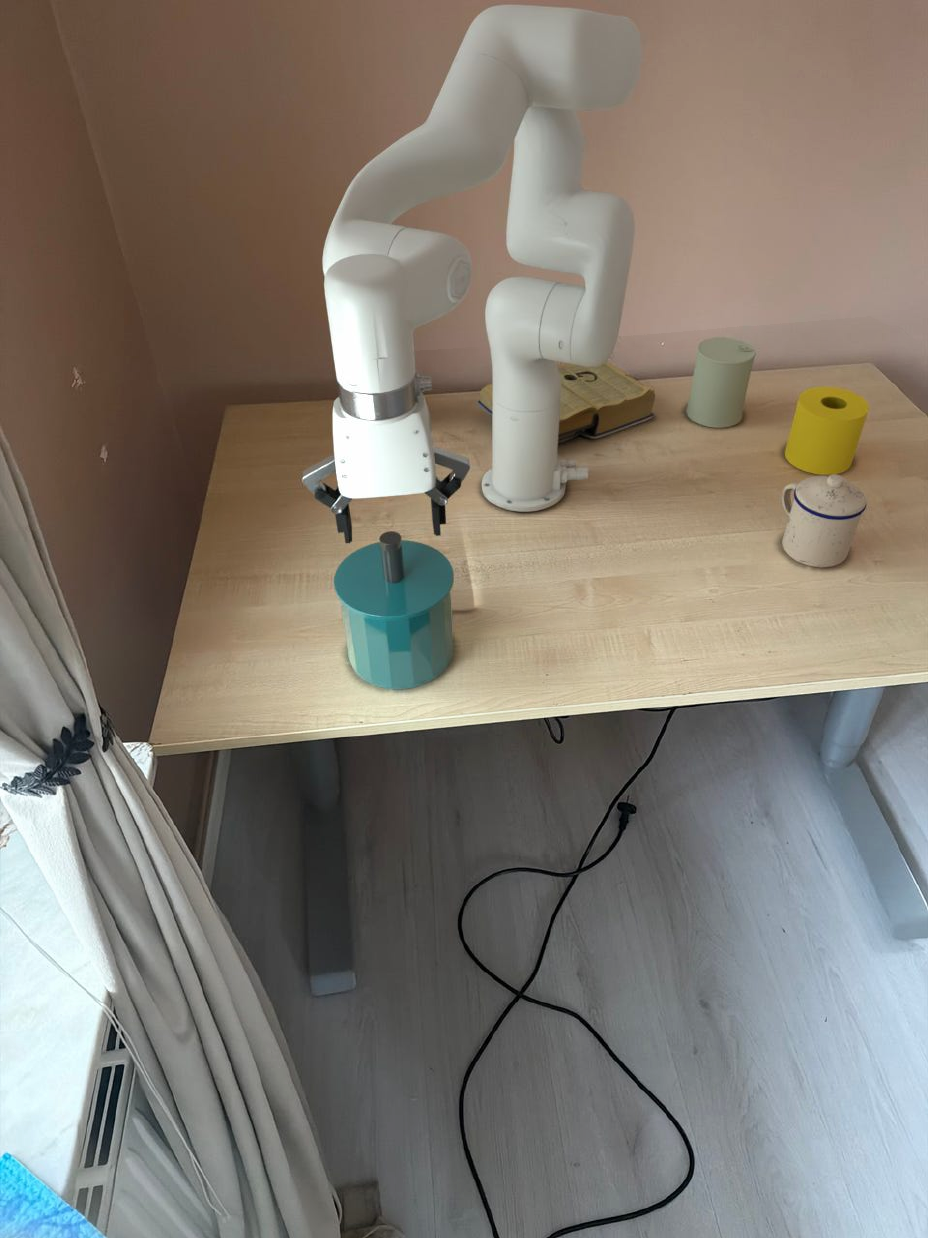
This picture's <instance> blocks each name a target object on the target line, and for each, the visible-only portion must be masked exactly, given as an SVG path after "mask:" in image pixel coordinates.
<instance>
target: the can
mask: <svg viewBox="0 0 928 1238" xmlns="http://www.w3.org/2000/svg"><path fill="white" fill-rule="evenodd" d="M755 357H756V349H755V347H754V346H753V345H751V344H750V343H748V342H747V341H745V340H742V339H739V338H735V337H729V336H719V337H717V336H715V337H710V338H706V339H704V340H702V341H700V342H699V343H698V344H697V347H696V356H695V364H694V369H693V375H692V380H691V381H692V382H691V388H690V393H689V399H688V402H687V403H688V404H687V407H686V409H685V411H686V415H687V417H688V418H689V420H691V421H692V422H694V423H695V424H698V425H699V426H700V425H701V426H702V427H703V426H704V427H707V428H714V429H722V428H723V429H724V428H731V427H733V426H736V425H737V424H739V423H741V421H742V419H743V417H744V416H743V415H744V413H743V412H744V406H745V401H746V398H747V397H746V396H747V391H748V388H749V383H750V379H751V378H750V377H751V374H752V369H753V365H754V361H755Z"/></svg>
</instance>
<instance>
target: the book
mask: <svg viewBox="0 0 928 1238" xmlns="http://www.w3.org/2000/svg"><path fill="white" fill-rule="evenodd" d="M556 366H557V368H558V371H559V375H560V379H561V401H560V417H559V433H558V444H559V443H564V442H566V441H569V440H571V439H574V438H577V437H578V436H580V435H581V436H583V437H586V438H589V439H593V440H596V439H600V438H603V437H605V436H608V435H611V434H614V433H616V432H619V431H622V430H626V429H628V428H630V427H633V426H635V425H638V424H640V423H644V422H646V421H648V420H651V419H653V418H654V416H655V413H653V409H654V405H655V401H656V393H655V391H654V390H652V389H651V388H652V385H645V384H643V383H641V382H639V381H638V380H636V379H635V378H634V377H632V376H629V374H627V372H625V371H624V370H623V369H621V368H619V367H617V366H616V365H614V364H612V363H610V362H609V360H607V361H606V362H605V363H604V364H602V365H600V366H597V367H586V366H579V365H573V364H568V363H562V364H556ZM479 396H480V398H479V400H477V401H476V404H477V405H478V406H479V407H480V408H481V409H482V410H484V412H486V413H487V414H489V415H490V416H491V417H492V413H493V382H492V383H487V384H486V385H485V387H482V388H481V389H480V395H479Z"/></svg>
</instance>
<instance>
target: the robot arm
mask: <svg viewBox="0 0 928 1238" xmlns="http://www.w3.org/2000/svg"><path fill="white" fill-rule="evenodd" d="M642 63H643V44H642V38H641V35H640V31H639V29H638V27H637V25H636V24H635V22H634V21H633V20H632V19H630V17H627V16H624V15H616V14H609V13H602V12H598V11H593V10H589V9H582V8H575V7H560V6H544V5H530V4H529V5H528V4H499V5H493V6H490V7H488V8H486V9H484V10H482V11H481V12H480V13H479V14H478V15H476V17H475V18H474V19H473V21H472V22H471V24H470V25H469V27H468V29H467V31H466V33H465V35H464V37H463V40H462V42H461V44H460V46H459V48H458V51H457V53H456V55H455V57H454V59H453V61H452V64H451V66H450V68H449V70H448V72H447V75H446V77H445V79H444V82H443V83H442V86H441V89H440V90H439V93H438V95H437V97H436V98H435V101H434V103H433V106H432V108H431V111H430V113H429V115H428V117H427V119H426V120H425V122H424V123H422V124H421V125H420V126H418V127H416V128H415V129H413V130H411V131H410V132H408V133H406V134H405V135H404V136H402V137H400V138H399V139H398V140H396V141H395V142H394V143H392V144H391V145H390V146H388V147H387V148H385V149H384V150H383V151H382V152H380V153H379V154H377V155H375V157H374V158H372V159H371V160H370V161H369V162H367V163H366V164H365V166H364V167H362V168H361V169H360V171H358V173H357V174H356V175H355V176H354V178H353V179H352V180H351V182H350V183H349V185H348V187H347V188H346V190H345V193H344V195H343V198H342V200H341V202H340V204H339V206H338V208H337V210H336V212H335V215H334V217H333V219H332V221H331V223H330V226H329V228H328V232H327V235H326V238H325V241H324V245H323V250H322V252H323V253H322V272H323V276H324V281H323V289H324V299H325V304H326V305H325V307H326V312H327V319H328V326H329V334H330V340H331V342H330V343H331V347H332V348H331V349H332V356H333V363H334V370H335V377H336V385H337V391H338V392H337V393H338V397H337V398H335V400H334V401H333V407H332V441H333V454H331V455H329V456H328V457H326V458H324V459H322V460H320V461H319V462H317V463H315V464H313V465H311V466H310V467H308V468H306V469H304V470H303V471H302V475H301V482H302V484H303V485H304V486H305V487H306V488H307V490H309V491H310V493H312V494H313V496H314V498H315V499H316V501H318V502H320V503H321V504H323V505H325V506H326V507H327V508H329V509H330V512H331V513H332V514H333V515H334V517H335V522H336V528H337V529H336V530H337V533H338V534H341V533H343V537H344V543H345V544H351V542H353V524H352V523H353V522H352V517H351V510H350V503H351V501H353V500H354V499H371V498H382V497H395V496H407V495H408V496H409V495H418V494H423V493H424V494H425V495H426V496H427V497H428V498H430V507H431V508H430V509H431V521H432V529H433V535H434V536H436V537H440V536H441V533H442V532H441V525H446V524H447V515H446V513H447V512H446V505H447V504H448V502H449V499H450V498H451V497H452V496H453V495H455V493H456V492H458V490H459V489H461V487H462V483H463V481H465V479H466V476H467V475H468V474H469V472H470V470H471V464H470V459H469V458H468V457H466V456H463V455H461V454H458V453H454V452H452V451H449V450H447V449H443V448H441V447H438V446H436V445H435V444H434V437H433V429H432V428H433V427H432V423H431V422H432V421H431V417H430V412H429V411H430V410H429V408H428V405H427V401H426V398H425V395H424V393H425V391H432V390H433V387H432V376H431V375H427V376H424V375H423V374H422V375H420V374H419V372H418V371H416V359H415V358H416V357H415V345H414V344H415V343H414V331H415V330H416V329H417V328H420V327H423V326H424V325H427V324H430V323H431V322H434V321H436V320H438V319H440V318H443V317H444V316H446V315H448V314H449V313H451V312H452V311H453V310H455V309H456V308H457V307H458V306H459V305H460V304H461V302H462V301H463V300H464V299H465V297H466V295H467V293H468V291H469V288H470V285H471V282H472V277H473V276H472V275H473V262H472V258H471V255H470V252H469V251H468V249H467V247H466V246H465V245H464V243H462V241H460V240H459V239H457V238H456V237H454V236H452V235H449V234H446V233H443V232H440V231H432V230H426V229H421V228H414V227H410V226H403V225H398V224H393V223H394V222H395V221H396V220H397V219H398V218H399V217H401V216H402V215H403V214H405V213H406V212H408V211H409V210H411V209H413V208H414V207H417V206H420V205H423V204H424V203H427V202H430V201H433V200H437V199H440V198H443V197H447V196H451V195H455V194H458V193H462V192H464V191H467V190H470V189H473V188H477V187H479V186H482V185H484V184H486V183H489V181H491V180H493V179H494V178H496V177H497V175H499V173H500V172H501V171H502V169H503V167H504V165H505V162H506V160H507V157H508V155H509V153H510V150H511V148H512V146H513V145H514V146H513V160H512V172H511V179H510V188H509V197H508V198H509V199H508V206H507V218H506V230H505V238H506V239H505V242H506V249H507V253H508V255H509V256H510V258H512V259H513V260H514V261H515V262H517V263H519V264H522V265H525V266H529V267H532V268H537V269H543V270H548V271H555V272H561V273H568V274H573V275H578V276H581V277H582V278H583V280H584V284H585V286H581V285H575V284H570V283H563V282H561V281H556V280H555V281H554V280H548V279H542V278H536V277H529V276H513V277H508V278H504V279H503V280H501V281H499V282H498V283H497V284H495V286H493V287H492V289H491V291H490V292H489V294H488V296H487V299H486V302H485V308H484V309H485V310H484V320H485V321H484V322H485V329H486V335H487V340H488V345H489V350H490V358H491V370H492V372H491V373H492V375H491V376H492V377H491V378H492V383H493V413H492V416H491V417H492V419H491V420H492V424H491V425H492V426H491V427H492V431H491V432H492V435H491V436H492V437H491V438H492V439H491V440H492V442H491V444H492V445H491V449H492V450H491V454H492V455H491V467H490V468H489V469H488V470H487V471H486V472H484V474H483V476H482V479H481V491H482V494H483V496H484V497H485V498H486V500H487V501H489V502H490V503H491V504H492V505H494V506H497V507H498V508H500V509H504V510H507V511H512V512H520V513H526V512H527V513H529V512H530V513H531V512H538V511H543V510H546V509H548V508H550V507H552V506H554V505H555V504H557V503H558V502H560V501H561V500H562V499H563V497H564V496H565V494H566V488H567V487H566V485H567V482H568V481H574V480H575V481H580V480H581V481H582V480H588V479H589V468H588V466H585V465H584V466H577V464H578V463H577V460H576V459H568V460H561V459H560V458H558V447H559V443H558V433H559V417H560V401H561V379H560V375H559V371H558V368H557V366H556V365H557V364H556V362H559V363H562V364H573V365H579V366H586V367H597V366H600V365H602V364H604V363H605V362H606V361H609V359H610V358H611V356H612V354H613V352H614V351H615V348H616V345H617V340H618V337H619V332H620V327H621V321H622V317H623V310H624V304H625V298H626V292H627V285H628V279H629V276H630V275H629V274H630V268H631V262H632V256H633V251H634V242H635V231H636V229H635V228H636V227H635V217H634V216H635V215H634V212H633V209H632V206H631V205H630V203H629V202H628V201H627V199H625V198H624V197H622V196H620V195H616V194H615V193H609V192H603V191H596V190H588V189H584V188H583V185H582V180H583V172H584V171H583V170H584V160H585V154H586V146H587V145H586V138H585V133H584V129H583V127H582V125H581V122H580V119H579V117H578V114H576V112H575V111H581V112H599V111H607V110H613V109H617V108H619V107H620V106H622V105H623V104H624V103H626V101H627V100H628V99H629V97H630V96H631V95H632V94H633V91H634V90H635V88H636V86H637V83H638V81H639V78H640V73H641V69H642V66H643V65H642ZM436 465H438V466H441V467H444V468H447V469H449V470H452V471H451V472H450V473H449V474H447V476H445V478H443V479H441V478H440V477H438V475H437V470H436V467H437V466H436ZM334 473H335V474H336V481H337V485H336V486H335V487H334V488H332V487H330V486H329V485H327V484H326V483H325V482H322V480H323V479H325V478H327V477H328V476H330V475H332V474H334Z"/></svg>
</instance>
